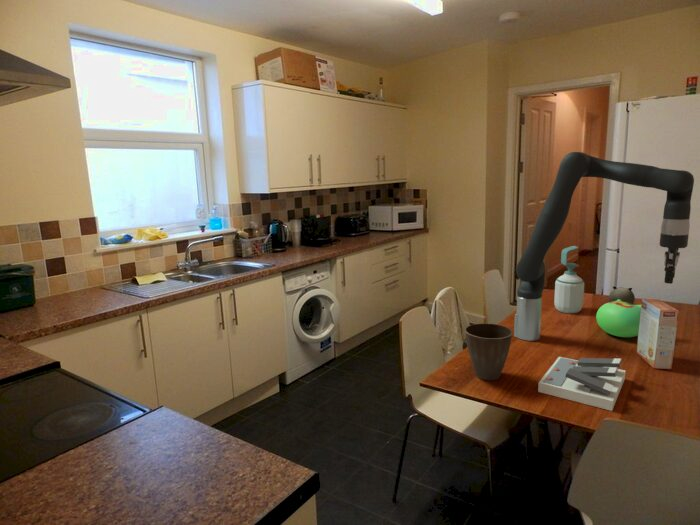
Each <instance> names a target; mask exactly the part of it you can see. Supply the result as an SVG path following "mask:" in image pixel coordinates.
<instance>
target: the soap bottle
mask: <svg viewBox="0 0 700 525" xmlns="http://www.w3.org/2000/svg"><path fill="white" fill-rule="evenodd" d="M578 249H579V246H577V245H572V246H568V247H565V248H563V249H561V257H560V262H561V264H562V265H563V266H566V269H567V270H565V271H564V273H563V274H562V275H560V276H559V277H557V278H556V280H555V282H554V299H553V300H554V302H553V304H554V307H555V309H556V310H558V312H561V313H564V314H577V313H579V312H581V310H582V308H583V307H584V306H583V305H584V294H585V281H584V279H583V278H581V277H580V276H578V275H577V271H574V269H575V268H576V267H577V268H578V267H579V266H580V265H579V264H577V263H573V262H572V263H570V262H569V263H568V256H569V255H568V254H569V253H570V252H572V251H575V250H578Z"/></svg>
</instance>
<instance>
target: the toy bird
mask: <svg viewBox="0 0 700 525" xmlns="http://www.w3.org/2000/svg"><path fill="white" fill-rule="evenodd" d="M641 305H642V304H634V303H633V304H630V303H626V302H622V301H621V300H619V299H618V300H617V301H615V302H610V301H609V302H607V303H604V304H603V305H601V306H600V307H599V308H598V310H597V312H596V314H595V320H596V323H597V324H598V326H599V327H600V328H601V330H603V331H604V332H606V333H608V334H609V335H612V336H613V337H615V336H616V337H618V338H619V337H620V338H634V337H638V334H639V324H640V315H641Z"/></svg>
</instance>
